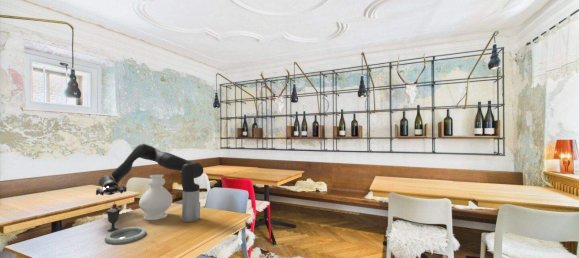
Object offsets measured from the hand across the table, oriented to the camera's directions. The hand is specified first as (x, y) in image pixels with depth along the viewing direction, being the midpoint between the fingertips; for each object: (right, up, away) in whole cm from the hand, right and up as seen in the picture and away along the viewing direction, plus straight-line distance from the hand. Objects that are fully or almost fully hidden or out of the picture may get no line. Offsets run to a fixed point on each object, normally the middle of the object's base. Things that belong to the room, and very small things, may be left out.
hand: (112, 192), depth 137 cm
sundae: (+7, -17, -9) cm, 21 cm away
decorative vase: (+17, -18, +13) cm, 28 cm away
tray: (+19, -17, -17) cm, 31 cm away
